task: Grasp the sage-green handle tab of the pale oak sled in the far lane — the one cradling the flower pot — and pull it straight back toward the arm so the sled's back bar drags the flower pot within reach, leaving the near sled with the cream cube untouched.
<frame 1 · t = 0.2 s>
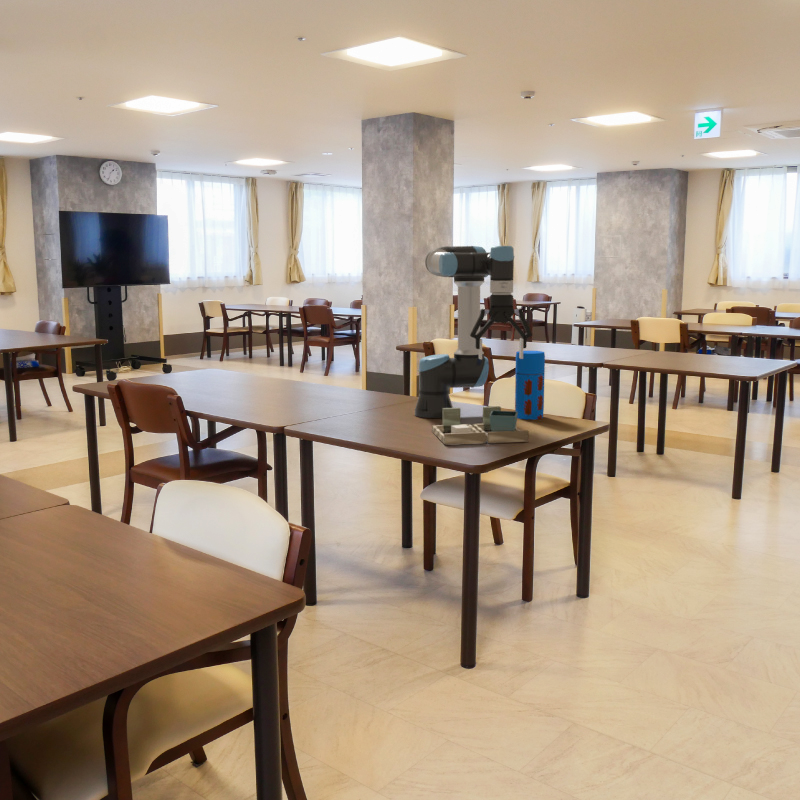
hand: (500, 358, 275), 27 cm above the table, fingers open, 13 cm apart
flower pot: (503, 440, 279), resting in oak sled
cream cube: (460, 441, 277), resting in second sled
oak sled: (499, 423, 283), point 4 cm above the table, slide at 0.0 cm
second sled: (457, 425, 281), point 4 cm above the table, slide at 0.0 cm
thermos: (529, 417, 319), on the table
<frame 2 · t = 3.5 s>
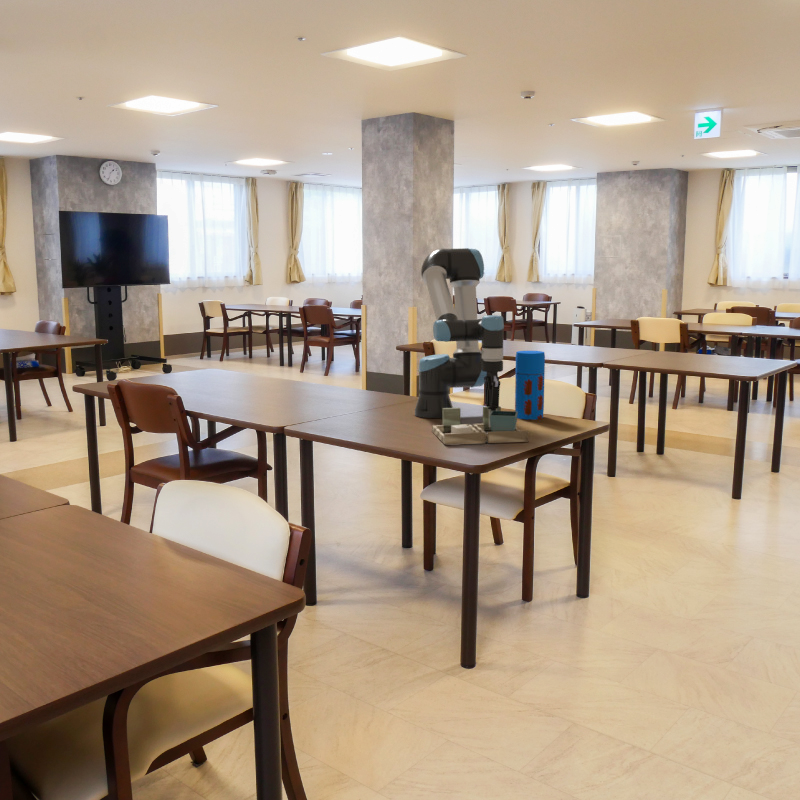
hand: (491, 425, 294), 1 cm above the table, fingers closed on oak sled, 2 cm apart
oak sled: (499, 423, 283), point 4 cm above the table, slide at 0.0 cm, touching gripper
everything else where it was.
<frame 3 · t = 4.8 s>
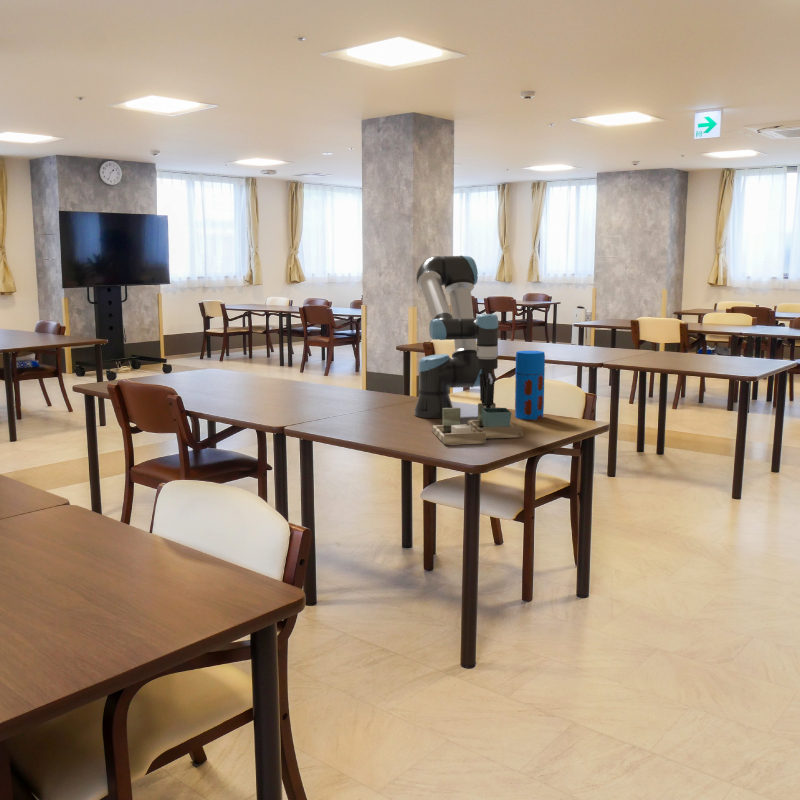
hand: (486, 422, 301), 1 cm above the table, fingers closed on oak sled, 2 cm apart
flower pot: (495, 436, 285), resting in oak sled
oak sled: (494, 419, 291), point 4 cm above the table, slide at 7.3 cm, touching gripper
everything else where it was.
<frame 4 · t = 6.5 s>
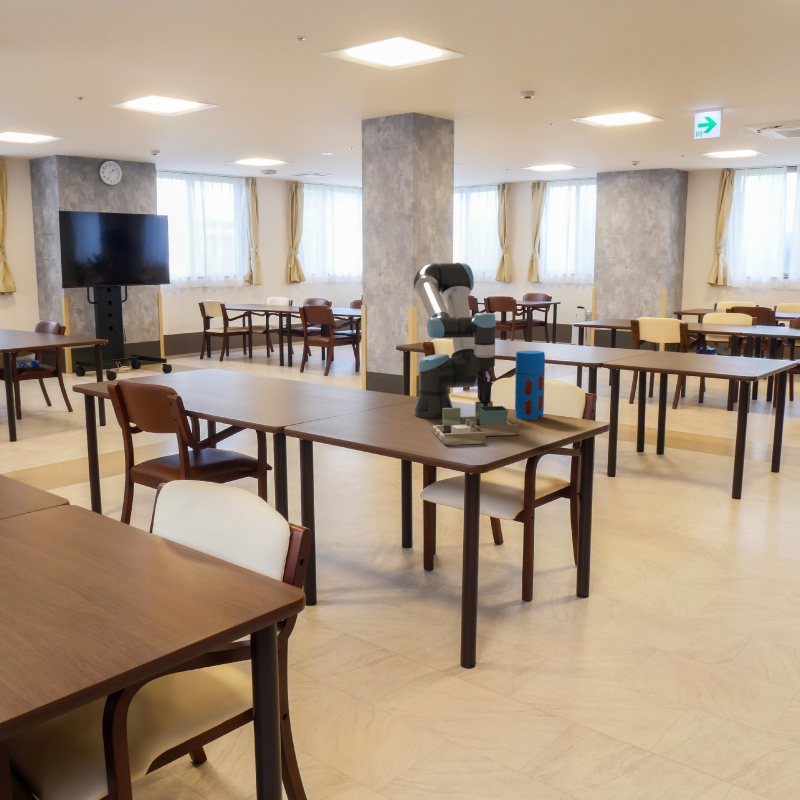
hand: (483, 419, 305), 2 cm above the table, fingers closed on oak sled, 2 cm apart
flower pot: (492, 434, 289), resting in oak sled
oak sled: (491, 417, 294), point 4 cm above the table, slide at 11.3 cm, touching flower pot, gripper
everything else where it was.
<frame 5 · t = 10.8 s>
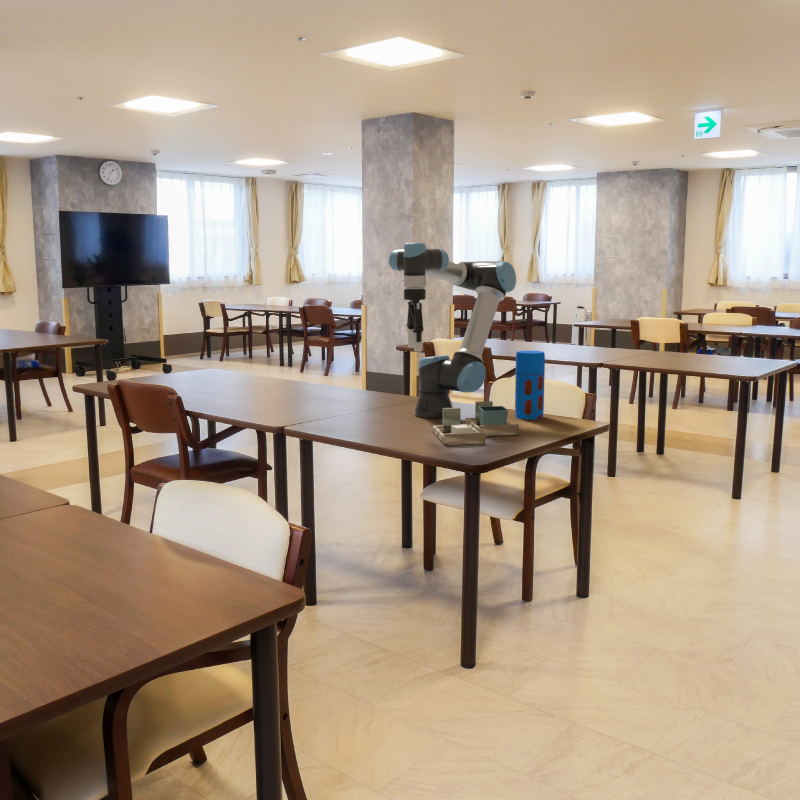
hand: (415, 349, 291), 29 cm above the table, fingers open, 13 cm apart
flower pot: (492, 434, 289), resting in oak sled
oak sled: (491, 417, 294), point 4 cm above the table, slide at 11.2 cm
everything else where it was.
at the end: flower pot inside the target area (2.5 cm from its centre), resting in oak sled; oak sled slide at 11.2 cm; flower pot tilted 0° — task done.
